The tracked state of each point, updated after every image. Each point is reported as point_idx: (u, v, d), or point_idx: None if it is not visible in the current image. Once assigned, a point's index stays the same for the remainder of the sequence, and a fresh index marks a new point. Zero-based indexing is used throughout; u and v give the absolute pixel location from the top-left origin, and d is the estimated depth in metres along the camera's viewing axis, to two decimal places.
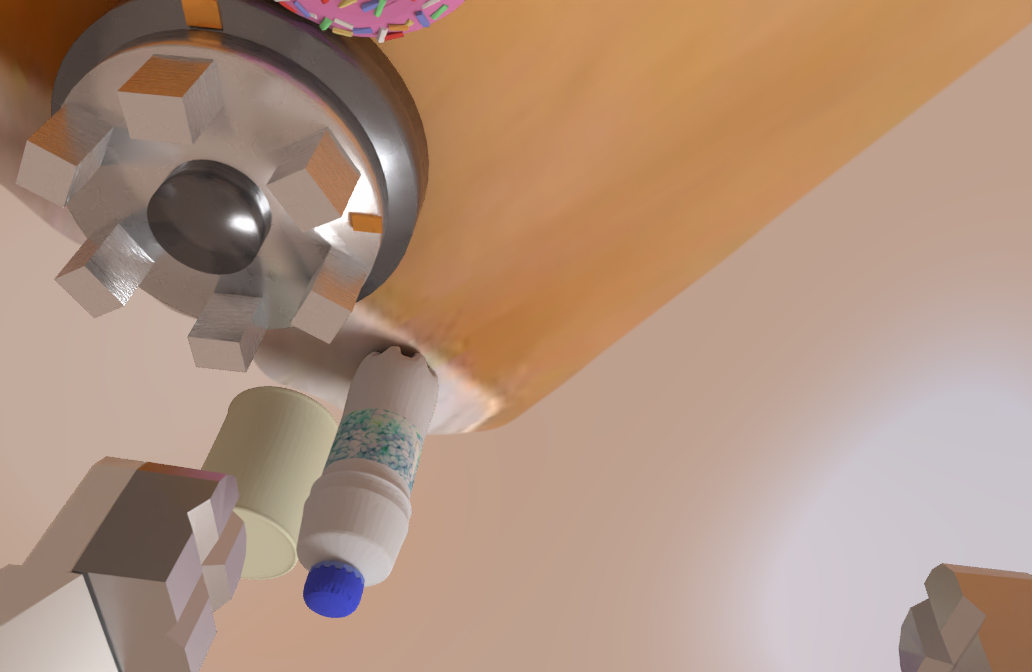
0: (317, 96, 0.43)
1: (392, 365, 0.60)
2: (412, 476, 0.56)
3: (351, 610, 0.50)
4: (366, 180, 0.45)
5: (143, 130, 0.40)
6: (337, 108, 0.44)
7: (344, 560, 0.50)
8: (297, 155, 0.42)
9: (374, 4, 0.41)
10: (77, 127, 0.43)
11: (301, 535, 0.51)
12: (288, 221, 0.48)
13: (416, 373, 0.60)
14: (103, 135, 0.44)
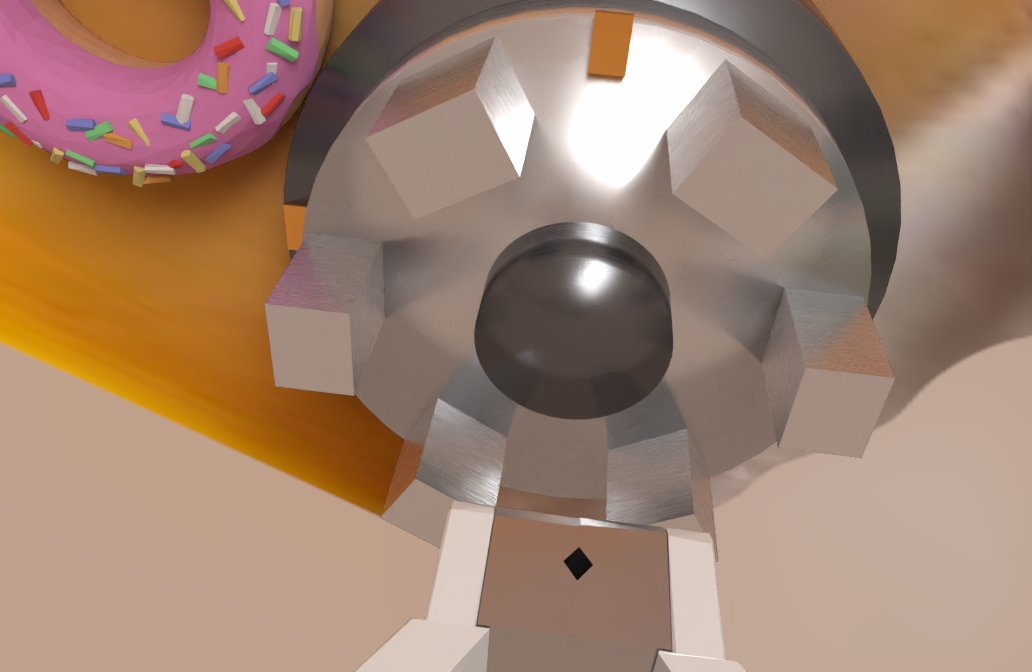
0: (374, 89, 0.25)
1: None
2: None
3: None
4: (509, 27, 0.23)
5: (335, 374, 0.25)
6: (406, 58, 0.25)
7: None
8: None
9: None
10: (413, 445, 0.30)
11: None
12: (606, 197, 0.25)
13: None
14: (431, 417, 0.30)
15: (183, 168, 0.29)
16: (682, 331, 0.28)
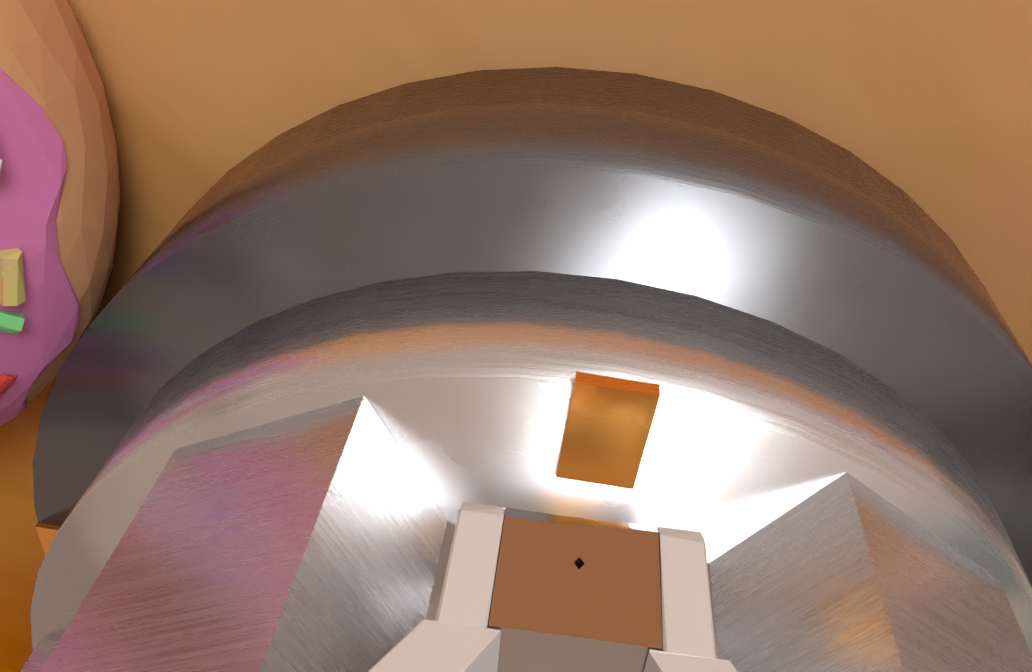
0: (145, 424, 0.13)
1: None
2: None
3: None
4: (391, 386, 0.11)
5: None
6: (208, 370, 0.13)
7: None
8: None
9: None
10: None
11: None
12: None
13: None
14: None
15: None
16: None
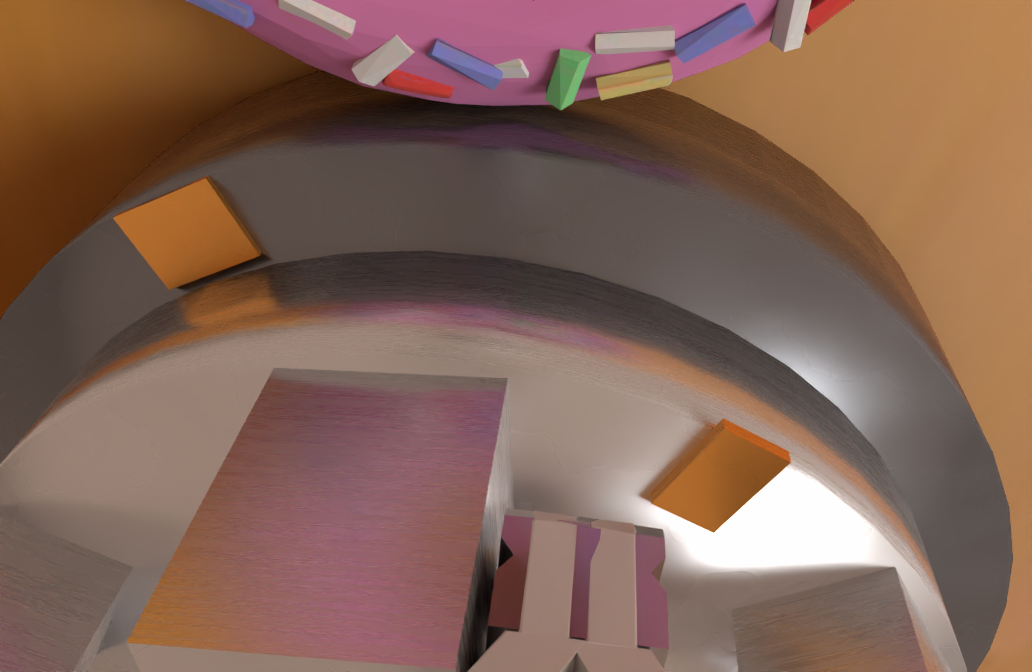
0: (213, 324, 0.12)
1: None
2: None
3: None
4: (541, 378, 0.11)
5: None
6: (301, 289, 0.12)
7: None
8: None
9: None
10: None
11: None
12: None
13: None
14: None
15: None
16: None
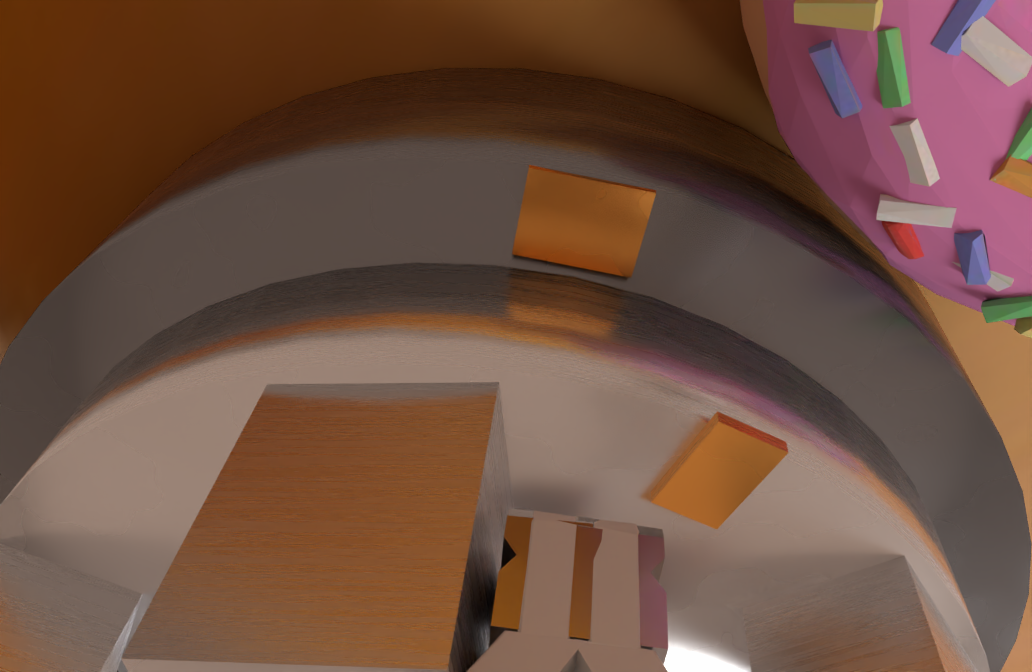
0: (208, 346, 0.12)
1: None
2: None
3: None
4: (532, 380, 0.11)
5: None
6: (293, 306, 0.12)
7: None
8: None
9: None
10: None
11: None
12: None
13: None
14: None
15: None
16: None
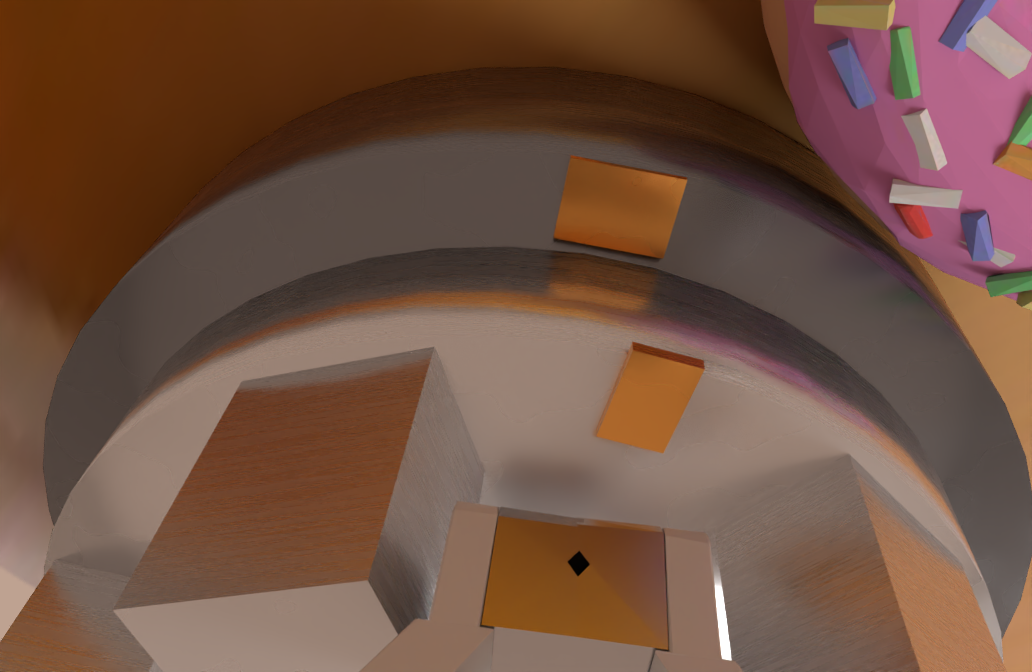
0: (199, 359, 0.14)
1: None
2: None
3: None
4: (461, 341, 0.12)
5: None
6: (266, 313, 0.14)
7: None
8: None
9: None
10: None
11: None
12: None
13: None
14: None
15: None
16: None
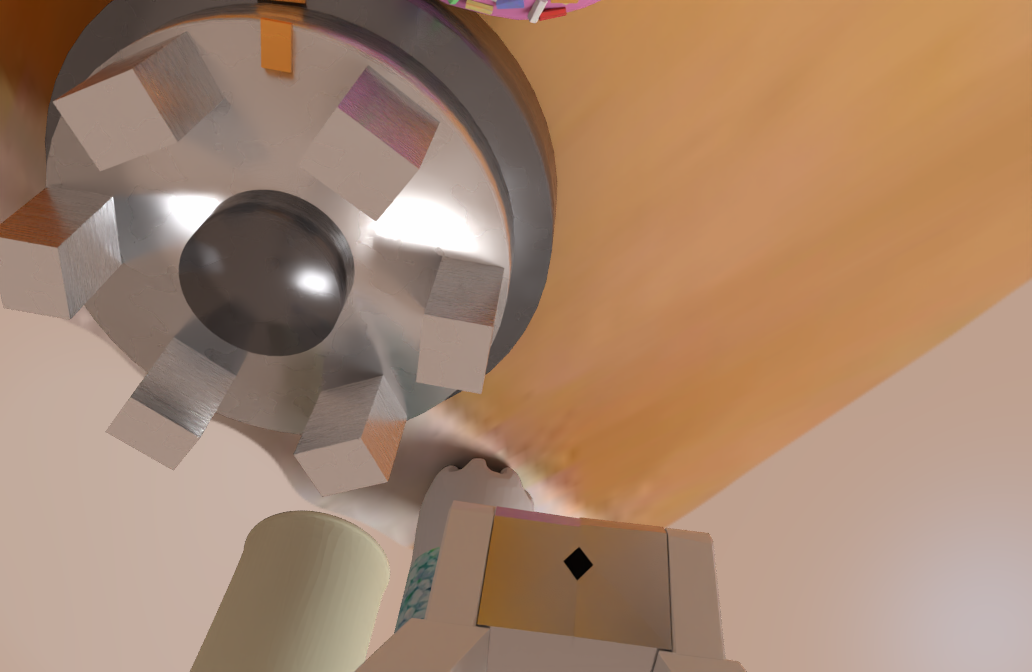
0: None
1: (480, 485, 0.45)
2: None
3: None
4: (196, 26, 0.28)
5: (52, 299, 0.30)
6: None
7: None
8: None
9: None
10: None
11: None
12: (290, 171, 0.31)
13: (511, 495, 0.45)
14: (163, 351, 0.35)
15: None
16: (367, 288, 0.34)
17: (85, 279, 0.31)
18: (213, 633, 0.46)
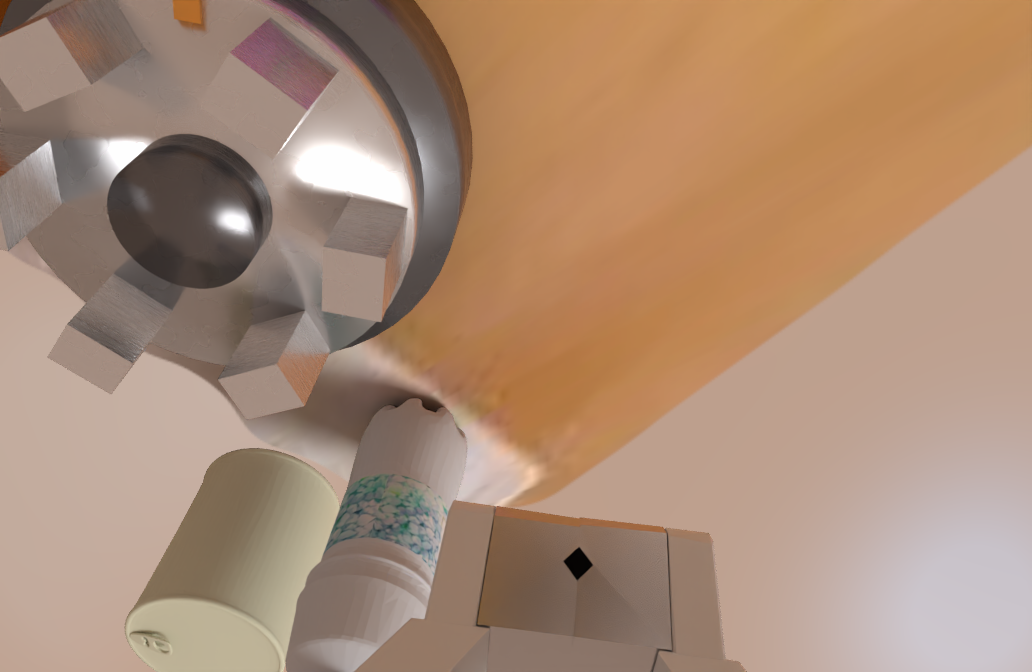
0: None
1: (413, 421, 0.48)
2: None
3: None
4: None
5: None
6: None
7: None
8: None
9: None
10: None
11: (293, 641, 0.38)
12: (208, 116, 0.34)
13: (442, 431, 0.48)
14: (101, 286, 0.38)
15: None
16: (285, 228, 0.37)
17: (23, 215, 0.34)
18: (166, 556, 0.49)
